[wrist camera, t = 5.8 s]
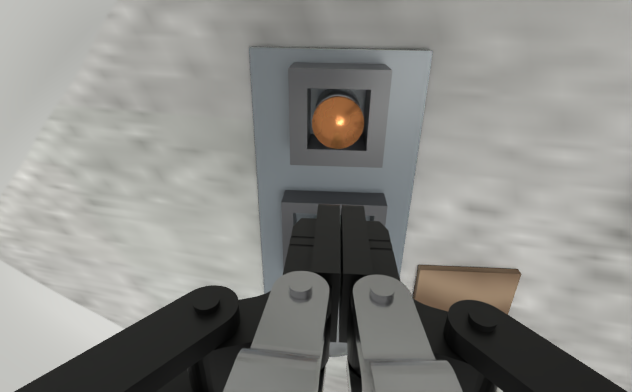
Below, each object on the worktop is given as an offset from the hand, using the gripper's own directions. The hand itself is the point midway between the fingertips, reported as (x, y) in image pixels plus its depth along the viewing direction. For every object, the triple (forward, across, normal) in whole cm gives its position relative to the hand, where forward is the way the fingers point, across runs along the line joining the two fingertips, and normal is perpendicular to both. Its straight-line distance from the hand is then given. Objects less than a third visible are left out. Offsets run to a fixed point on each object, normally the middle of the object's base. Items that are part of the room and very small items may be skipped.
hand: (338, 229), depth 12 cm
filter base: (+20, 0, +8) cm, 22 cm away
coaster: (+20, -14, +21) cm, 32 cm away
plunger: (+19, 0, 0) cm, 19 cm away
